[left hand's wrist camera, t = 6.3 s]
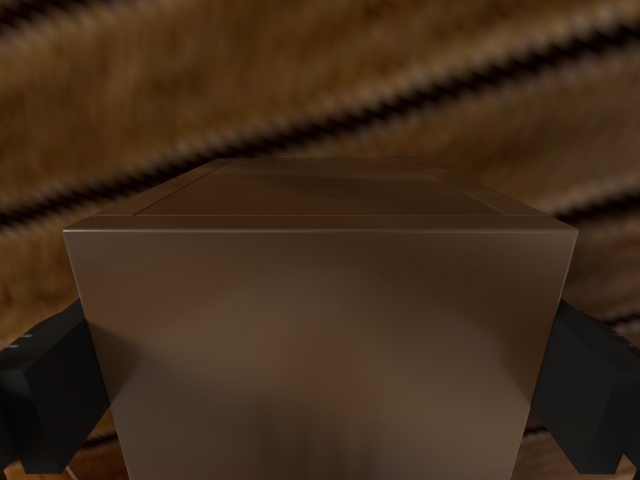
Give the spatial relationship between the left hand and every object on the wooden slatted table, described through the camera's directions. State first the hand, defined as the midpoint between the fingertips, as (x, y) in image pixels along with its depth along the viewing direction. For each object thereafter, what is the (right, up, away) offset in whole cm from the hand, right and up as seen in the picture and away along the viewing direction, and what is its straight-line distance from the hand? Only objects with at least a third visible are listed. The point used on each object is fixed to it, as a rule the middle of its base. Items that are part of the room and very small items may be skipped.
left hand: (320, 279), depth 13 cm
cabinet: (0, -2, +9) cm, 9 cm away
